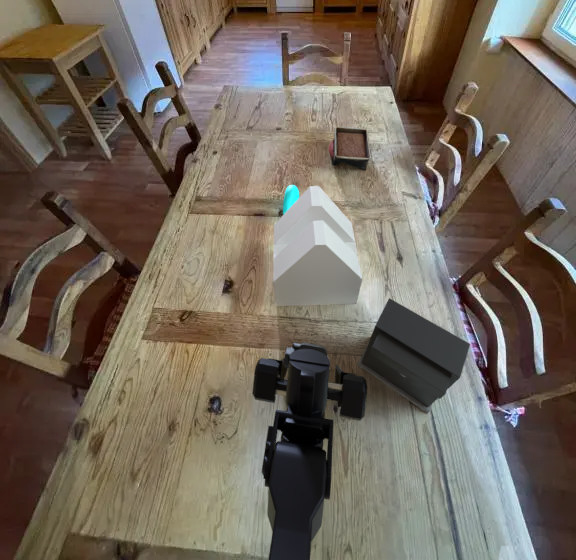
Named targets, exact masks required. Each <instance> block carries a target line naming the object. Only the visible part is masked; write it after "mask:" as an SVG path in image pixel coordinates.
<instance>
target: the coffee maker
mask: <svg viewBox="0 0 576 560" xmlns="http://www.w3.org/2000/svg"><path fill="white" fill-rule="evenodd" d="M470 346H471V343H469V342H467V341H466V340H464V339H462V338H460V337H459V336H457V335H455V334H453V333H451V332H450V331H448V330H446V329H445V328H442V327H441V326H439V325H438V324H436V323H434V322H432V321H430V320H429V319H427V318H425V317H423V316H421V315H420V314H418V313H417V312H415V311H412V310H411V309H409V308H408V307H406V306H404V305H402V304H400V303H399V302H397V301H395V300H393V299H392V298H389V297H388V299H387V301H386V303H385V306H384V307H383V308H382V311H381V314H380V315H379V318H378V319H377V322H376V323H375V324H374V328H373V331H372V333H371V336H370V339H369V340H368V343H367V344H366V347H365V348H364V351H363V353H362V355H361V356H360V358H359V360H358V362H357V366H358V367H359V368H361V369H362V370H364V371H365V372H366V373H368V374H370V376H373V377H374V378H375V379H377V380H378V381H379V382H380V383H382V384H384V385H385V386H387V387H388V388H390V389H391V390H393V391H394V392H395V393H397V394H399V395H400V396H401V397H403V398H405V399H406V400H407V401H409V402H410V403H412V404H413V405H415V406H416V407H418V408H420V410H422V411H424V412H425V413H426V414H429V413H430V412H431V409H432V406H433V404H434V402H436V401H437V400H438V399H439V400H441V399H442V398H443V397H444V396H445V395H446V394H447V392H448V390H449V389H450V388H451V387H452V386H453V385H454V384H455V383H456V382H457V381H459V379H461V377H462V373H463V370H464V367H465V363H466V360H467V356H468V353H469V350H470Z"/></svg>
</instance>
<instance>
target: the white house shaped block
mask: <svg viewBox="0 0 576 560" xmlns="http://www.w3.org/2000/svg"><path fill="white" fill-rule="evenodd" d="M352 223H353V222H352V221H351V220H350V219H349V218H348V217H347V216H346V215H345V214H344V212H343V211H342V210H341V209H340V208H339V207H338V206H337V205H336V203H335V202H334V201H333V200H332V199H331V198H330V197H329V196H328V195H327V193H326V192H325V190H323V188H321V187H320V185H309V187H308V188H307V189H306V190H305V191H303V193H302V194H301V195H299V199H298V200H297V201H296V202H295V203H294V204H293V205H292V206H291V207H290V208H289V209H288V210H287V212H286V213H285V214H284V215H283V214H282V215H281V217H280V218H279V219H278V220H277V221H276V222H275V223H274V224H273V266H272V267H273V269H272V270H273V271H272V272H273V275H272V277H273V278H272V280H273V281H272V284H273V291H274V301H275V307H295V306H297V307H298V306H299V307H300V306H327V305H329V306H331V305H356V304H357V303H358V298H359V294H360V291H361V286H362V282H363V275H362V270H361V265H360V259H359V253H358V249H357V244H356V239H355V234H354V229H353V224H352Z"/></svg>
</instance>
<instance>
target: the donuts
mask: <svg viewBox="0 0 576 560" xmlns="http://www.w3.org/2000/svg"><path fill="white" fill-rule="evenodd" d="M299 198H300V191H299V188H298V187H297V185H294V184H290V185H288V186H287V187H286V189H285V191H284V197H283V202H282V216H283V215H284V214H285V213H286V212H287V210H288V209H289V208H290V207H291V206H292V205H293V204H294V203H295V202H296V201H297V200H298V199H299Z"/></svg>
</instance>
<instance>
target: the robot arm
mask: <svg viewBox="0 0 576 560" xmlns="http://www.w3.org/2000/svg"><path fill="white" fill-rule="evenodd" d="M330 370H331V360H330V358H329V357H328V350H327V348H326V347H325V346H324V345H321V344H314V343H309V342H301V343H300V342H299V343H298V342H292V346H287V347H286V349H285V352H284V358H282V359H275V358H270V357H268V358H266V357H260V358H259V359H258V360H257V362H256V364H255V368H254V374H253V383H252V393H251V394H252V396H253V398H254V400H256V401H259V402H260V401H261V402H266V403H270V404H275V403H276V400H277V399H276V398H277V396H283V397H285V405H286V410H281V409H275V412H274V418H273V422H272V423H273V424H272V425H268V426H267V427H268V428H267V433H266V439H265V447H264V453H263V460H262V465H261V466H262V467H261V474H262V476H263V480H264V487H266V488H268V495H267V510H266V511H267V513H266V514H267V518H268V522H269V525H270V528H271V531H272V533H271V540H270V546H269V554H268V560H311V549H312V542H313V540H314V539H315V537H316V535H317V533H319V531H320V528H322V525H323V524H322V523H323V514H324V505H325V500H328V501H330V500H331V499H330V498H331V489H332V473H333V472H332V469H333V444H334V422H335V420H334V419H332V418H326V409H327V403H328V401H334V402H336V404H337V408H339V413H338V415H339V418H344V419H349V420H355V421H358V422H359V421H360V422H361V421H362V420H363V419H364V418H365V414H366V407H367V397H368V395H367V394H368V383H367V379H366V378H365V377H364V376H361V375H357V374H356V373H351V372H345V371H343V369H342V368H341V367H340V366H339V365H338V364H335V365H334V382H330V381H329V380H330V372H331V371H330ZM286 376H287V378H286ZM279 431H280V433H281V435H280V440H278V441H277V438H278V433H279ZM325 440H327V445H326V446H327V447H326V450H325V449H324V441H325Z"/></svg>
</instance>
